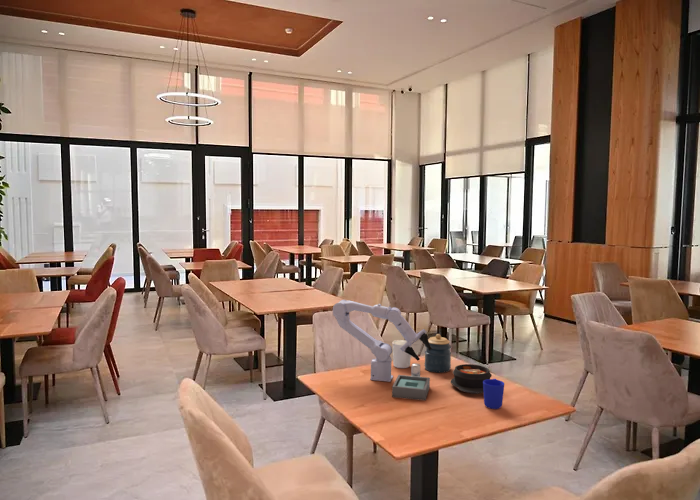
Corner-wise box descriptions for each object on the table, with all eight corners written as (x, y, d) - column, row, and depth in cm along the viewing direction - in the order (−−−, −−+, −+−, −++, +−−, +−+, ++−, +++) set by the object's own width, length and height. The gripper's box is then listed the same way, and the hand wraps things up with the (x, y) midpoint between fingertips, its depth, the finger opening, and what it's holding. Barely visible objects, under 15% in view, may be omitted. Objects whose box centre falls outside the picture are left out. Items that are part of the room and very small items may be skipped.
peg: (410, 382, 229) (410, 365, 228) (411, 379, 232) (412, 363, 232) (419, 383, 228) (419, 366, 227) (420, 380, 231) (420, 363, 231)
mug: (504, 401, 207) (505, 377, 206) (503, 411, 196) (504, 387, 195) (483, 398, 210) (484, 375, 209) (481, 409, 199) (482, 384, 198)
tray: (391, 397, 211) (392, 386, 210) (398, 384, 226) (398, 374, 226) (425, 400, 207) (425, 389, 207) (429, 387, 222) (429, 377, 222)
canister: (444, 374, 240) (445, 338, 239) (420, 370, 247) (420, 334, 246) (454, 368, 251) (455, 333, 250) (430, 363, 258) (431, 329, 257)
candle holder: (388, 365, 253) (388, 342, 253) (399, 361, 261) (400, 339, 260) (403, 370, 247) (404, 346, 246) (415, 365, 254) (415, 342, 253)
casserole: (449, 377, 237) (449, 359, 237) (489, 379, 234) (490, 361, 234) (451, 396, 213) (452, 376, 212) (496, 399, 210) (497, 379, 209)
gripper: (397, 338, 223) (416, 363, 222) (420, 319, 228) (439, 344, 227) (392, 341, 230) (410, 365, 228) (415, 322, 235) (433, 346, 233)
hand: (424, 354), depth 228 cm, fingers open, 7 cm apart
